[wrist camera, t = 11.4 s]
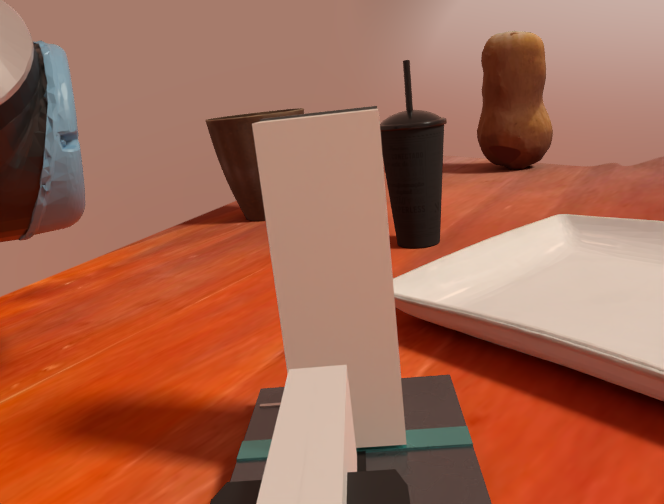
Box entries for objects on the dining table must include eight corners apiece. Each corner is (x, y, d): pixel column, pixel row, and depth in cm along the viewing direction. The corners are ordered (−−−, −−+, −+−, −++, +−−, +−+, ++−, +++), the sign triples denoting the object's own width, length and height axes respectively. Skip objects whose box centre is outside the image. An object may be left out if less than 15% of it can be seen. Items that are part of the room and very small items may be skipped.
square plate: (371, 330, 43) (366, 282, 42) (560, 244, 59) (560, 209, 58) (832, 500, 22) (845, 414, 21) (931, 297, 38) (941, 242, 37)
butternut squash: (556, 160, 111) (556, 27, 105) (547, 172, 100) (547, 23, 93) (486, 163, 118) (482, 38, 111) (470, 174, 107) (465, 36, 100)
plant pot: (320, 218, 83) (307, 108, 78) (219, 232, 81) (200, 120, 77) (311, 202, 97) (299, 107, 93) (225, 213, 95) (209, 118, 91)
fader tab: (406, 444, 26) (378, 107, 22) (298, 451, 26) (251, 121, 22) (400, 398, 29) (375, 105, 25) (306, 405, 30) (267, 117, 26)
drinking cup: (397, 256, 60) (381, 60, 55) (377, 240, 67) (362, 66, 62) (463, 245, 61) (455, 53, 56) (437, 230, 68) (427, 59, 63)
